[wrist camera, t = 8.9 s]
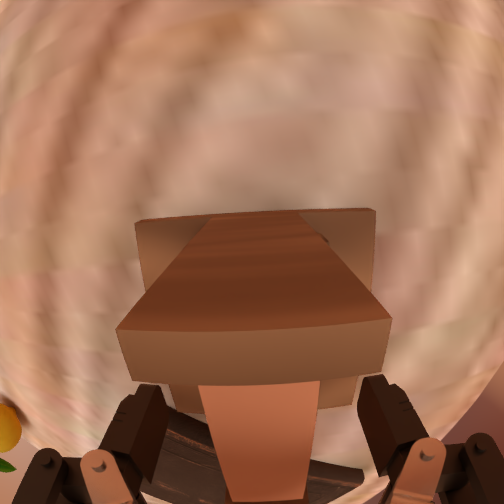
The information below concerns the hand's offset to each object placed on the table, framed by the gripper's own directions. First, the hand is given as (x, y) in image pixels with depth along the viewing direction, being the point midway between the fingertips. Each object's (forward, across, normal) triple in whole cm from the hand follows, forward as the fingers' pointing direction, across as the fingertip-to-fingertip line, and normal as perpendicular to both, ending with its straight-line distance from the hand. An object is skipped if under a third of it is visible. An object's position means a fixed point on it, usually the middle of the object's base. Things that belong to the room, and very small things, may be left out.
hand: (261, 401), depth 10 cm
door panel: (+5, 0, 0) cm, 5 cm away
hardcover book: (+7, +4, +19) cm, 21 cm away
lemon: (+6, +30, +14) cm, 34 cm away
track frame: (+6, 0, 0) cm, 6 cm away
